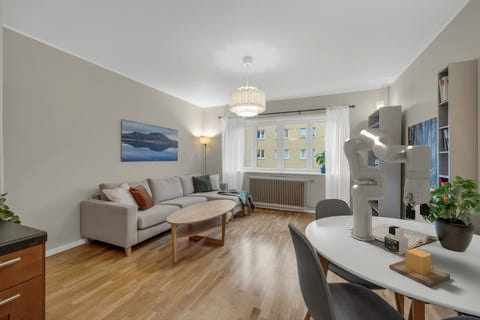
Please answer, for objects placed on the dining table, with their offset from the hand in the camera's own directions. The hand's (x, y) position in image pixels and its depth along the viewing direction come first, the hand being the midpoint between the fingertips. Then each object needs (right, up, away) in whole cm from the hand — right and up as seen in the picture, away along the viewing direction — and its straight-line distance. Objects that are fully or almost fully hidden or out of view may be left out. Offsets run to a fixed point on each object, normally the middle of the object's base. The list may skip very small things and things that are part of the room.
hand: (417, 217), depth 84 cm
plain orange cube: (0, -22, 0) cm, 22 cm away
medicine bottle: (+6, -23, +20) cm, 31 cm away
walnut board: (0, -23, 0) cm, 23 cm away
